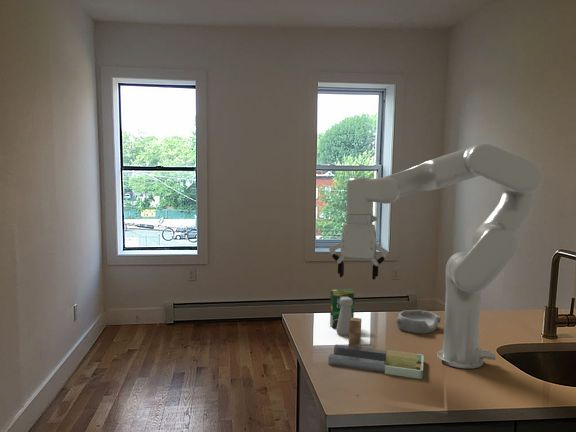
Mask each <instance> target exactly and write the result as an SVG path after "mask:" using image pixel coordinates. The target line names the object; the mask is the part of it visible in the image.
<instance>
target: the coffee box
mask: <svg viewBox="0 0 576 432" xmlns="http://www.w3.org/2000/svg"><path fill="white" fill-rule="evenodd" d="M329 295H330V296H329V297H330V305H329V306H330V308H329V309H330V311H329V313H330V316H329V326H330V327H331V328H332V329H336V328H337V323H338V318H339V314H340V309H341V305H340V303H339V301H340V298H342V297H349V298H351V299H352V300H353V304H352V306H351V313H352V318H355V317H354V316H355V312H354V311H355V308H354V307H355V299H354V298H355V290H354V289H353V288H342V289H331V290H330V293H329Z"/></svg>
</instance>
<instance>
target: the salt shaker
mask: <svg viewBox="0 0 576 432" xmlns="http://www.w3.org/2000/svg"><path fill="white" fill-rule="evenodd" d="M339 303H340V305H341V309H340V314H339V318H338V323H337V328H335V330H336V334H337V335H338V336H340V337H349V327H350V319H351V318H352V313H351V306H352V304H353V300H352V299H351V298H349V297H342V298H340V301H339Z"/></svg>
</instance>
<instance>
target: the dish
mask: <svg viewBox="0 0 576 432" xmlns="http://www.w3.org/2000/svg"><path fill="white" fill-rule="evenodd" d="M441 319H442V318H441V316H440V315H438V314H436V313H434V312H431V311H428V310H421V309H413V310H412V309H411V310H410V309H407V310H405V309H404V310H402V311H399V312H398V315H397V317H396V319H395V323H396V325H397V327H398V329H401V330H402V331H404V332H408V333H414V334H429V333H433V332H435V331H436V330H437V328H438V325H439V323H441Z"/></svg>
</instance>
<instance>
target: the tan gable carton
mask: <svg viewBox="0 0 576 432" xmlns="http://www.w3.org/2000/svg"><path fill="white" fill-rule="evenodd" d="M347 346H351V347H359V348H362V318H359V317H354V318H351V319H350V327H349V336H348V345H347Z"/></svg>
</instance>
